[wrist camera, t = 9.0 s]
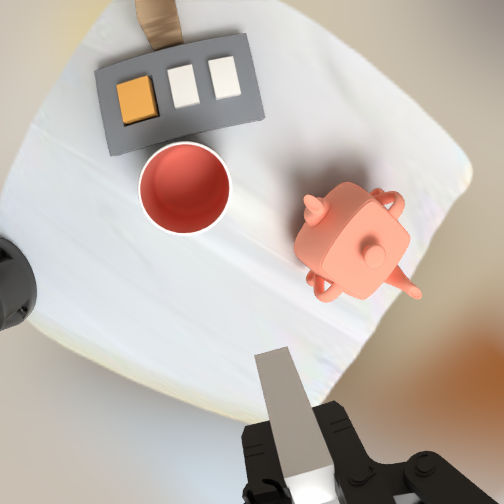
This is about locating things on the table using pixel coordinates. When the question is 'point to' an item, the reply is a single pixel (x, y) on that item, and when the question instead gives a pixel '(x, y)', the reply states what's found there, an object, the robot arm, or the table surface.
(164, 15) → the oak post
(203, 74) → the panel
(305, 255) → the teapot
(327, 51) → the table surface
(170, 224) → the cup
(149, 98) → the orange rectangular block
